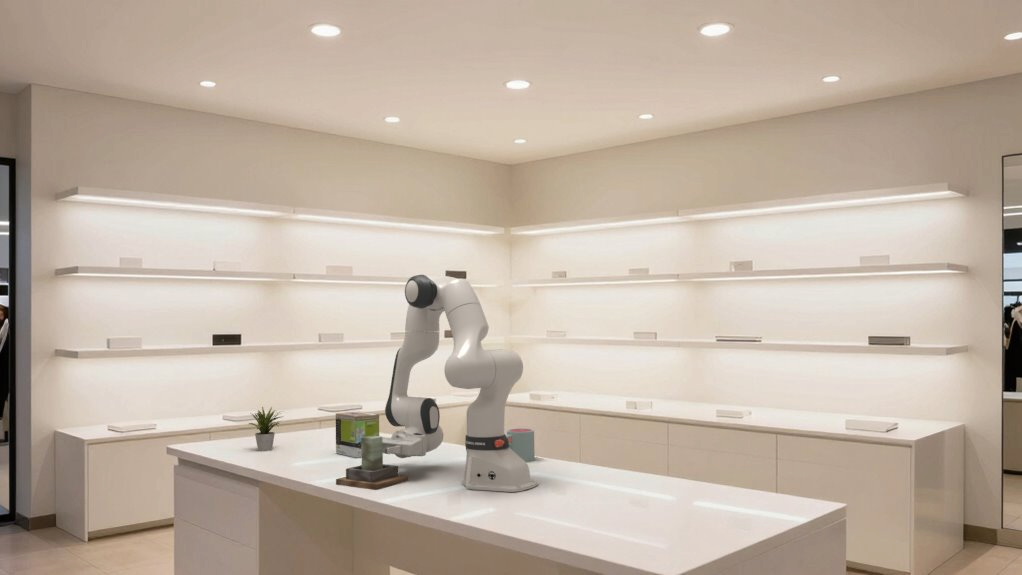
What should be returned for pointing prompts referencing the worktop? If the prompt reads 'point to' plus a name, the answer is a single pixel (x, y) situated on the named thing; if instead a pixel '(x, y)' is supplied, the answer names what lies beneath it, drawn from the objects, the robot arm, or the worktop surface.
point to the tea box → (354, 431)
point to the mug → (522, 443)
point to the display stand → (372, 477)
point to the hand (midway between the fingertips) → (374, 449)
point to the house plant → (265, 430)
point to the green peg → (372, 453)
